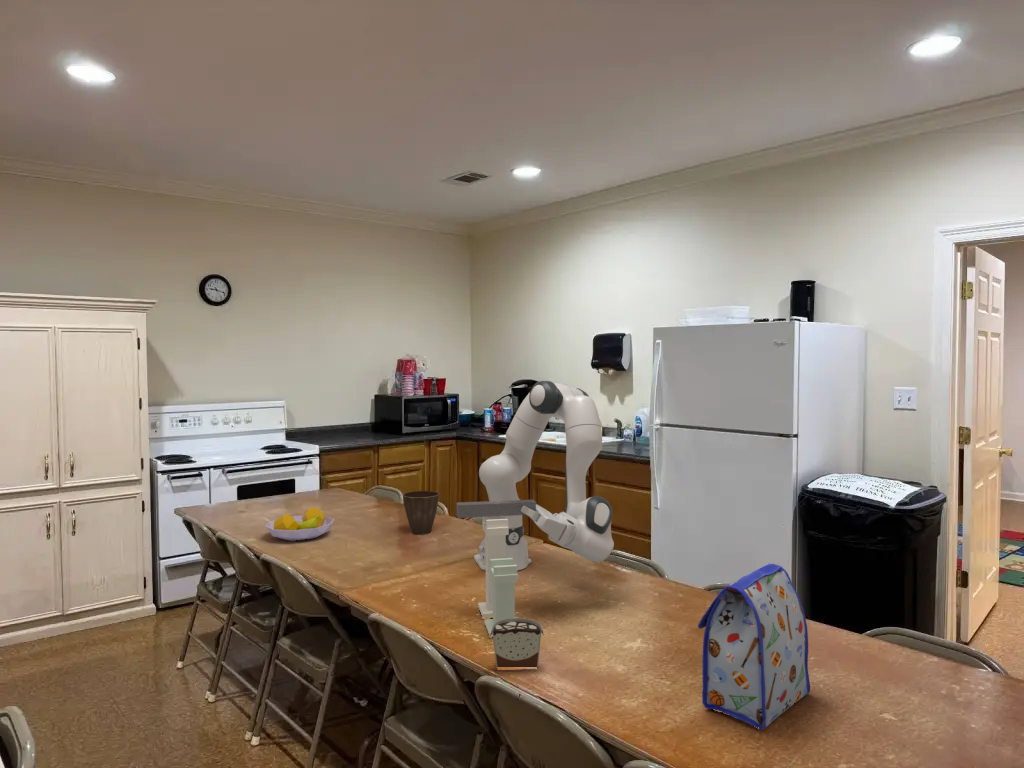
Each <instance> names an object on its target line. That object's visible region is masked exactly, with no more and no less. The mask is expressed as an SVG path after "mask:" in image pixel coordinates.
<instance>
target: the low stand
mask: <svg viewBox="0 0 1024 768" xmlns="http://www.w3.org/2000/svg"><path fill="white" fill-rule="evenodd" d="M489 569H490V575H491V577H492V579H493V619H484V621H483V622H484V623H485V625H486V628H487V630H488V633H489V636H490V634H491V629H492V627H493V625H494V624H495V623H496V622H498V621H501V620H504V619H510V618H519V617H518V616H516V608H515V607H516V604H515V603H516V602H515V601H516V598H515V594H516V593H515V592H516V589H515V588H516V587H515V586H516V585H515V583H518V582H519V573H518V570H517V565H513V559H512V558H501V559H490V566H489ZM484 623H483V624H484ZM485 625H484V626H485ZM486 628H485V629H486ZM488 633H487V634H488ZM491 635H493V633H492V634H491ZM489 636H488V637H489Z"/></svg>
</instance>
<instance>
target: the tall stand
mask: <svg viewBox="0 0 1024 768" xmlns="http://www.w3.org/2000/svg"><path fill="white" fill-rule="evenodd" d="M481 525H482V530H483V531H484V536H485V537H484V539H485V561H486V570H485V601H484V602H483V601H482V602H477V608H478V607H479V609H480V612H481V615H482V617H490V616H493V579H492V577H491V575H490V569H489V566H490V559H501V558H506V535H509V527H508V519H504V516H491V517H482V524H481ZM479 609H478V610H479ZM480 612H479V613H480ZM481 615H480V616H481ZM482 617H481V618H482Z"/></svg>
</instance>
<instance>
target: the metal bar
mask: <svg viewBox="0 0 1024 768" xmlns="http://www.w3.org/2000/svg"><path fill="white" fill-rule="evenodd" d="M536 504H537V501H536V500H535V499H520V500H509V501H487V500H486V501H464V502H463V501H462V502H456V508H455V509H456V517H457V518H458V519H463V518H466V519H467V518H483V517H491V516H513V515H522V516H527V515H526V514H525V513H523V512H521V510H520V509H521V507H522V505H524V506H526V507H528V508H530V509H532V510H534V511H536Z"/></svg>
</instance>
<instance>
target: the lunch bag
mask: <svg viewBox="0 0 1024 768" xmlns="http://www.w3.org/2000/svg"><path fill="white" fill-rule="evenodd" d="M790 577H791V576H790V575H789V573H788V571H786V569H785V568H784V567H783V566H781V565H780V564H775V563H768V564H765V565H763V566H761V567H760V568H758V569H755V570H754V571H752V572H751V573H749V574H746V575H743V576H741V577H740V578H739V579H738V580H736V581H735V582H733V583H730V584H728V585H726V586H725V587H724V588H723V589H721V591H720V592H719V593H718V594H717V596H715V598H714V600H713V601H712V602H711V604H710V605H709V607H708V608H707V610H706V611H705V612H704V614H703V615H702V617H701V618H700V620H699V622H698V624H697V628H698V629H700V630H701V629H704V633H703V643H702V674H701V675H702V681H701V682H702V690H701V691H702V693H701V694H702V695H701V698H702V701H701V702H702V705H703V707H704V708H705V709H707V710H709V709H715V710H719V711H722V712H724V713H726V714H729V715H730V716H732V717H731V718H733V717H734V719H736V720H741V721H742V722H744V723H747V724H749V725H750V726H752V725H753V726H755V727H757V728H758V727H759V729H760V730H759V731H763V730H765V729H766V728H767V727H769V726H770V724H771V723H773V721H775V720H776V719H778V717H780V716H781V715H782V714H784V713H785V712H786V711H787V710H788V709H790V708H791V707H792V706H793V705H794V703H795V704H796V703H798V702H799V701H800V700H801V699H802V698H803V697H805V696H806V695H808V694H809V693H810V691H811V682H810V675H809V667H808V666H809V665H808V663H809V634H808V633H809V632H808V623H807V619H806V615H805V610H804V607H803V605H802V602H801V599H800V598H801V597H800V596H799V595H798V592H797V590H796V589H795V586H794V585H793V582H792V580H791V578H790ZM807 693H808V694H807ZM730 716H729V717H730ZM753 726H752V727H753ZM755 727H754V728H755ZM757 728H756V729H757Z"/></svg>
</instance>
